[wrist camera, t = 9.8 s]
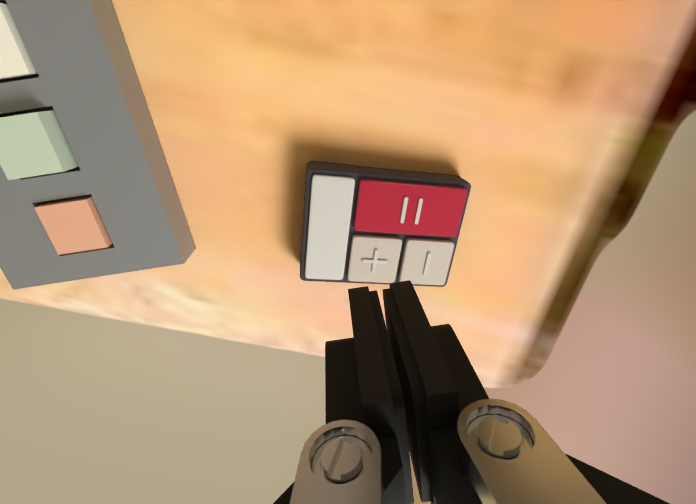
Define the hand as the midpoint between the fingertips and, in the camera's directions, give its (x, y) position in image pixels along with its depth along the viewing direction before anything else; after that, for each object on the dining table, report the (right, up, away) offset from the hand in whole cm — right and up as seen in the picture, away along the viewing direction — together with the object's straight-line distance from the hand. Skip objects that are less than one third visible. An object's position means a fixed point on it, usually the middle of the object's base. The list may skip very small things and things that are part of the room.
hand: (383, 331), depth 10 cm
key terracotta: (-25, +5, +24) cm, 35 cm away
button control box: (+2, +5, +28) cm, 29 cm away
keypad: (-26, +12, +23) cm, 36 cm away
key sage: (-26, +11, +20) cm, 35 cm away
